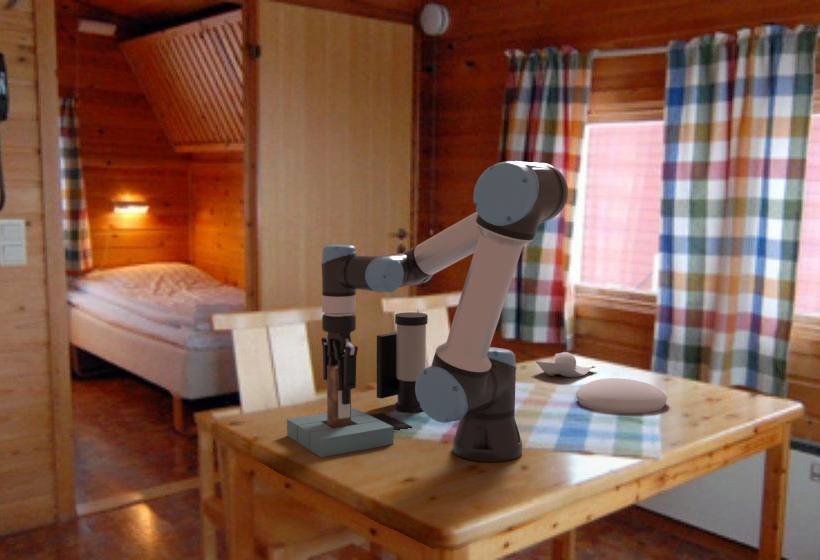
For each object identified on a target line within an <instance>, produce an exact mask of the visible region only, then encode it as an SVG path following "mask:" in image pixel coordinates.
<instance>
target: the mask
mask: <svg viewBox="0 0 820 560" xmlns="http://www.w3.org/2000/svg"><path fill="white" fill-rule="evenodd" d="M534 361H535V363H536V364H537V365H538V367H539V368H540V369H541V370H542V371H543V372H544V373H545V374H546V375H548V376H551V377H555V376H556V375H561V376H563V377H566V378H567V377H568V378H579V377H582V376H585V375H586V374H588V373H589V372H590V370H591V369H595V368H596V366H594V365H592V366H591V367H587V366H586V367H585V366H580V365H577V360H576V357H575V356H574V355H573V354H572V353H571V352H567V351H563V352H557V353H555V355H554V356H553V359H552V361H551V362H545V361H538V360H534Z"/></svg>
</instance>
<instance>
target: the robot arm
mask: <svg viewBox="0 0 820 560" xmlns="http://www.w3.org/2000/svg"><path fill="white" fill-rule="evenodd" d="M568 196H569V186H568V184H567V180H566V178H565V176H564V175H563V174H562V172H561V171H560V170H559V169H558V168H556V167H555V166H553V165H552V164H549V163H545V162H530V161H529V162H528V161H518V160H506V161H501V162H498V163H495V164H493V165H491V166H489V167H487V169H485V170H484V171H483V172H482V174H481V175H480V176H479V178H478V179H477V181H476V183H475V185H474V189H473V204H475V207H476V208H475V212H474V213H471V214H470V215H468V216H466V217H464V218H463V219H461V220H460V221H459V220H458V222H456V223H453V224H452V225H451V226H449V227H447V228H444V229H443V230H442V231H440V232H438V233H436V234H434V235H432V236H431V237H430V238H428V239H426V240H424V241H422V242H421V243H419V244H417V245H416V246H414V247H412V248H410V249H409V250H407V251H405V252H402V253H401V252H400V253H393V254H381V255H373V256H372V255H360V254H357V251H356V247H355V246H354V245H352V244H328V245H325V246H324V247H323V248H322V254H321V255H322V256H321V263H320V264H321V275H322V276H321V281H322V282H321V283H322V285H321V286H322V289H321V290H322V292H321V293H322V295H321V312H322V313H323V314H322V318H321V321H322V322H321V324H322V325H321V329H322V331H323V332H324V333H327V336H325V337H321V339H320V340H321V345H322V346H321V347H322V372H323V373H322V377H323V380H324V381H327V365H335V364H338V373H339V383H340V388H337V390H338V418H339V419H342V418H348V417H350V390H351V391H352V389H355V388H356V387H357V383H356V382H357V355H358V350H359V349H358V345H353V344H352V338H351V333H352V332H354V331H356V330H357V325H356V324H357V322H356V321H357V318H356V317H357V316H356V314H355V312H356V308H357V307H356V302H357V298H356V292H357V290H362V291H370V292H377V293H381V294H382V293H393V292H396V291H397V290H398V288H399V289H400V288H402V287H403V288H404V287H411V286H419V285H421V284H424V283H427V282H428V281H430V280H431V279H432V278H433V276H434V275H435V274H437V273H439V272H440V271H443V270H444V269H446V268H448V267H451V266H452V265H454V264H455V263H457V262H460V261H461V260H463V259H465V258H467V257H469V256H470V255H472V259H471V262H470V265H469V269H468V272H467V275H466V278H465V281H464V285H463V287H462V291H461V295H460V297H459V301H458V304H457V307H456V311H455V312H454V317H453V320H452V322H451V325H450V329H449V333H448V336H447V338H446V342H444V343H442V344H440V345H438V346H437V347H436V349H435V352H434V356H433V358H432V361H431V365H430V366H428V367H426V369H424V370H423V371H422V372H421V373H420V374H419V376H418V377H417V380H416V384H415V393H416V397H417V400H418V401H419V403H420V407H421V408H422V410H423V411H422V412H424V414H426V415H427V417H429V418H430V419H431V420H434V421H435V422H438V423H445V424H447V423H451V422H458V425H457V428H456V432H455V435H454V436H453V440H452V452H453V453H454V454H455V455H456V456H458V457H460V458H463V459H466V460H470V461H473V462H474V461H475V462H485V463H494V462H495V463H496V462H497V463H498V462H506V461H511V460H514V459H517V458H519V457H521V456H522V454H523V441H522V438H521V435H520V432H519V431H520V430H519V429H518V425H517V422H516V418H515V417H516V416H515V415H516V378H517V377H516V375H517V365H516V354H515V353H514V352H513V351H512V350H510V349H505V348H499V347H493V346H492V347H491V344H492V341H493V338H494V335H495V332H496V329H497V326H498V323H499V321H500V318H501V314H502V311H503V308H504V305H505V302H506V299H507V296H508V293H509V290H510V286H511V284H512V280H513V277H514V274H515V271H516V268H517V266H518V262H519V259H520V256H521V253H522V250H523V247H524V246H525V245H527V244H529V243H531V242H533V241H534V240H535V236H536V234H537V230H538V227H539V225H540V224H543V223H545V222H548V221H550V220H552V219H554V218H555V217H558V215H559V214H561V212H562V211H563V209H564V208H565V207H566V204H567V202H568Z"/></svg>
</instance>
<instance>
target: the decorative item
mask: <svg viewBox="0 0 820 560" xmlns="http://www.w3.org/2000/svg"><path fill="white" fill-rule="evenodd" d="M575 395H576V399H577V402H578V403H579V404H580V406H582V407H584V406H585V407H584V408H587V409H590V410H595V411H600V412H606V413H615V414H617V413H618V414H645V413H652V412H657V411H660V410H662V409H663V408H664V407H665V405H666V403H667V401H668V397H667V395H666V394H665V392H663V390H662V389H660V388H659V387H657V386H655V385H653V384H650V383H647V382H644V381H640V380H636V379H630V378H622V377H620V378H619V377H606V378H600V379H596V380H591V381H589V382H586V383H585V384H583V385H582V386H580V388H579V389H577V390H576V393H575Z"/></svg>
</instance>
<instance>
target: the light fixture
mask: <svg viewBox="0 0 820 560" xmlns="http://www.w3.org/2000/svg"><path fill="white" fill-rule="evenodd" d="M428 321H429V319H428V313H423V312H412V311H411V312H400V313H399V312H398V313H395V314H394V324H396V332H389V333H384V334H378V335H376V398H377V399H380V400H381V399H384V398H385V399H386V398H390V397H393V396H397V402H395V404H394V408H395V410H396V411H397V412H400V413H401V412H402V413H407V412H409V413H410V414H411V413H412V412H415V413H420V412H421V411H422V412H424V411H423V410H422V408H421V407H420V403H419V401H418V400H417V397H416V393H415V384H416V380H417V377H418V376H419V374H420V373H421V372H422V371H423V370H424V369H426V368H427V367H426V366H427V364H426V363H427V361H426V359H427V358H426V357H427V356H426V355H427V354H426V353H427V348H426V347H427V342H426V341H427V325H428Z"/></svg>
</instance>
